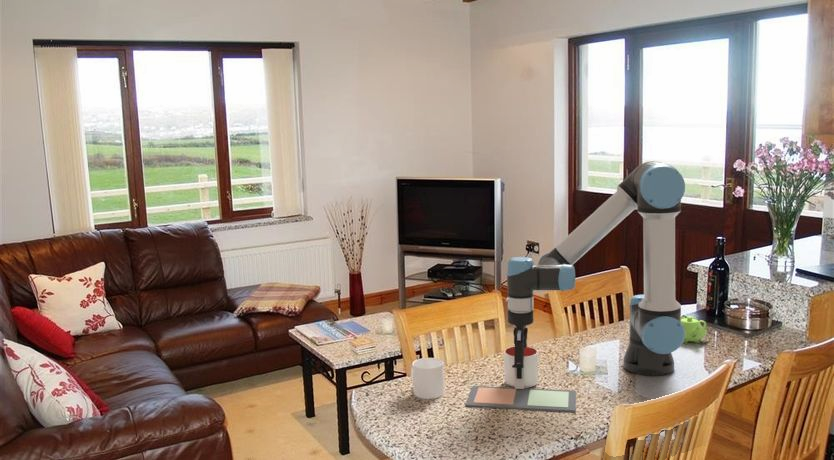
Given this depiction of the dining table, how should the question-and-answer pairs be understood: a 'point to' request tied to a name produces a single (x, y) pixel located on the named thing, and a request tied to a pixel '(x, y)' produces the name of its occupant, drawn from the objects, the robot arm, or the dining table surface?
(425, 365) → the mug
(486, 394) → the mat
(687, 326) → the teapot
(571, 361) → the dining table surface
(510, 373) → the cup
